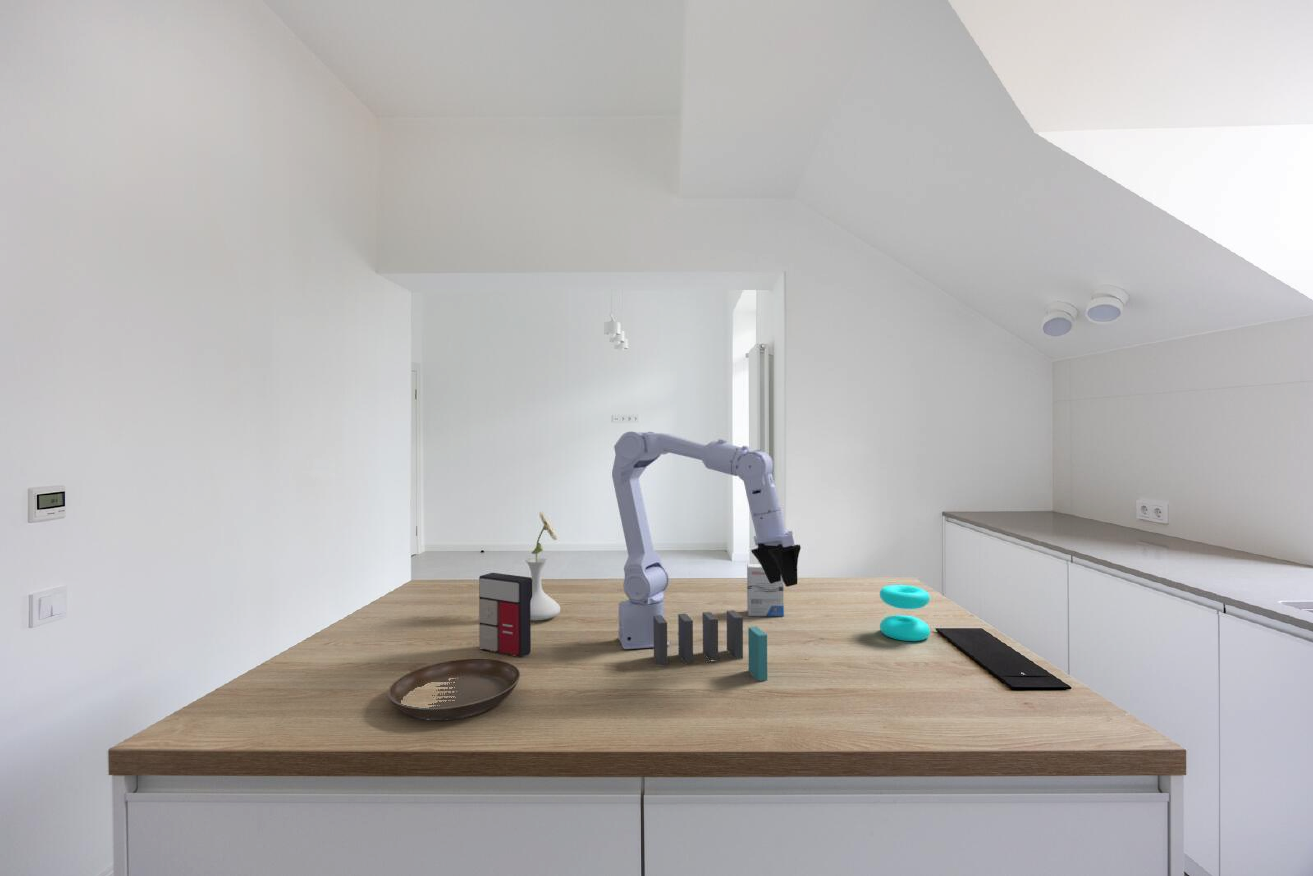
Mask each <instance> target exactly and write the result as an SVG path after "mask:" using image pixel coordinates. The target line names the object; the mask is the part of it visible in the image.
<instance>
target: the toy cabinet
mask: <svg viewBox="0 0 1313 876" xmlns="http://www.w3.org/2000/svg"><path fill="white" fill-rule="evenodd" d="M478 582H479V585H478V590H479V591H478V593H479V594H478V596H479V599H478V620H479V621H478V622H479V625H478V627H479V628H478V632H479V633H478V635H479V636H478V640H479V641H478V644H479V645H478V646H479V649H480V648H482V649H486V650H485V651H487V650H492V651H495V652H494V653H496V652H499V653H498V654H501V653H503V654H502V655H506V654H507V656H511V655H515V656H514V657H516V656H519V657H518V658H522V657H525V656H526V655H528V654H530V653H531V648H532V646H531V645H532V643H531V642H532V640H531V639H532V638H531V637H532V636H531V611H530V602H531V599H532V577H529V576H522V575H514V574H513V575H512V574H506V573H505V574H504V573H500V572H499V573H498V572H489V573H486V574H481V575H479V579H478ZM482 649H481V650H482ZM524 655H525V656H524Z"/></svg>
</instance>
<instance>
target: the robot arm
mask: <svg viewBox="0 0 1313 876" xmlns="http://www.w3.org/2000/svg"><path fill="white" fill-rule="evenodd" d="M613 448H614V452H615V457H614V460H613V465H612V472H611V478H612V481H613V482H612V483H613V486H614V492H615V496H616V502H617V507H618V510H619V511H618V512H619V515H620V516H619V517H620V520H621V521H620V522H621V527H622V531H623V536H624V540H625V545H626V550H627V554H628V556H627V559H626V562H625V564H624V566H623V572H624V579H623V591H624V594H625V595H626V597H627V598H628V599H627V600H621V601H619V603H618V640H619V642H620V645H621V646H622V648H623V650H635V649H637V650H638V649H646V648H647V649H648V648H654V621H653V616H656V615H662V617H663V618H664V619H665V600H664V599H665V596H664V593H665V592H664V591H665V590H667V588H668V586H669V583H670V577H669V576H670V575H669V573H668V571H667V570H666V568H665V567H664V565H663V562H662V557H661V556H659V554H658V553H657V552H656V551H655V550H654V545H653V539H652V537H651V536H652V535H651V532H650V528H649V523H648V522H649V521H648V517H647V512H646V508H645V503H644V499H643V494H642V488H641V484H640V480H639V479H640V477H641V476H642V474H643V473H644V472H645V469H647V467H648V466H650V465H651V464H653V463H654V462H656V460H658V459H659V458H660V457H661V456H662V455H667V454H674V455H678V456H683V457H687V458H691V459H696V460H699V461H701V462H702V463H703V465H704V467H705V468H706V469H709V470H712V471H716V472H720V473H723V474H726V475H730V476H735V477H738V478H739V479H740V480H741V481H743V483H744V485H743V486H744V489H745V494H746V498H747V503H748V507H749V512H750V515H751V520H752V525H753V528H754V533H755V536H753V540H754V541H753V542H754V544H755V545H754V546H756V547H757V548H753V549H751V550H750V551H751V554H753V556H754V557H755V558H756V559H757V561H758V562H759V563H758V564H761V566H762V568H763V570H764V572H765V574H766V576H767V578H768V580H769V582H770V583H775V582H779V581H781V576H782V579H783V585H784V586H785V587H787V588H789V587H792V586H795V585H797V584H798V562H799V556H800V552H801V549H802V547H801V544H795V540H794V536H793V535H794V533H793V530H787V529H786V524H785V520H784V516H783V513H782V508H781V504H780V500H779V496H778V495H779V494H778V491H777V488H776V484H775V481H774V477H773V474H772V473H773V471H774V461H773V459H772V457H771V456H770V455H769V453H766V452H764V451H763V450H761V449H755V450H752V451H750V447H749V446H747V445H742V447H741V446H737V445H735V444H734V445H733V444H729V443H727V440H726V439H721V438H719V439H718V440H712V441H711V442H709V443H707V444H704V443H700V442H697V441H694V440H691V439H687V438H684V437H680V436H677V435H673V434H670V433H662V432H653V431H647V432H646V431H645V432H640V431H639V432H637V431H627V432H624V433H623V434H622V435H621V436H620V437H619V439H618V440H617V441H616V443H615V444H614V446H613ZM669 646H670V642H669V641H668V640H667V647H669Z"/></svg>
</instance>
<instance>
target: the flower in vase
mask: <svg viewBox="0 0 1313 876" xmlns="http://www.w3.org/2000/svg"><path fill="white" fill-rule="evenodd" d="M538 513H539V516H540V519H541V522H542V523H543V524H542V525H543V527H542V529H541V531H540V533H539V535H538V537H537V541H536V546H535V548H534V549H533V551H531V554H533V555H535V557H534V558H533V557H532V558H527V559H525V562H526V564H527V566H529V570H530V575H531V578H532V599H531V602H530V611H531V621H543V620H548V619H551V618H553V617H556V616H557V615H559V613H560V612H561V606H560V604H559V603H558V602H556V601H555V600H554V599H553V598H552V597H550V596H549V595H547V593H545V591H544V590H543V587H542V577H543V576H542V574H543V573H542V572H543V568H544V566H545V564H546V562H547V561H548V559H547V558H544V557H543V558H542V557H538V554H539V553H543V551H544V548H543V546H542V543H540V542H539V541H540V539H541V536H542V534H543V532H544V530H545V531H547V533H548V535H549V536H550V537H551V539H552V540H553V541H557V540H558V537H557V535H556V533H555V532H554V531H553V527H552V526H551V525H550V524H549V520H548V519H547V517H545V515H544V512H543V511H542V512H541V511H539V512H538Z"/></svg>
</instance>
